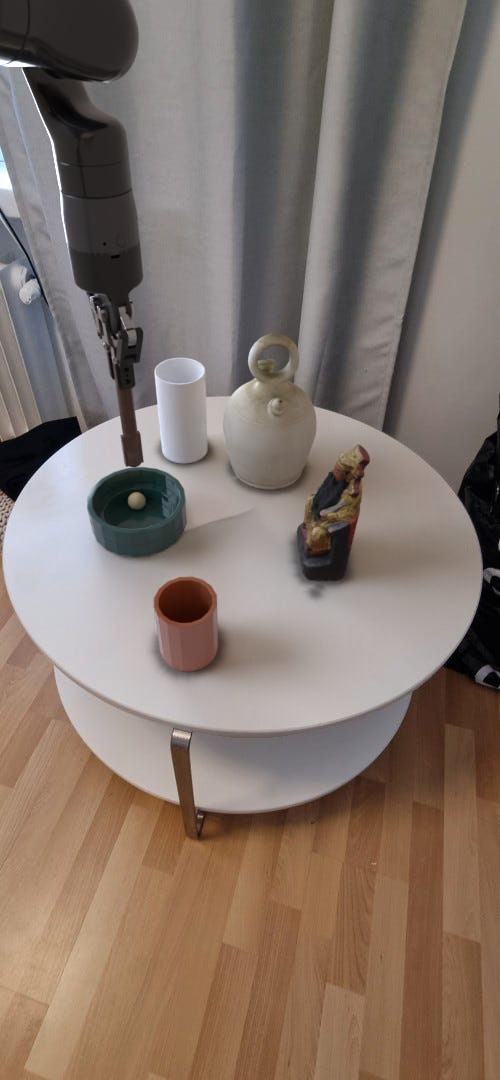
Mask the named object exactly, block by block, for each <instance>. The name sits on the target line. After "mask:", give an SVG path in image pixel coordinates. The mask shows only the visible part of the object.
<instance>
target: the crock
mask: <svg viewBox="0 0 500 1080" xmlns="http://www.w3.org/2000/svg"><path fill="white" fill-rule="evenodd" d="M153 613H154V619H155V626H156V630H157V631H156V633H157V640H158V647H159V651H160V654H161V658H162V659H163V661H164V662H165V663H166V664H167V665H168V666H169V667H171V668H172V669H174V670H177V671H180V672H194V671H198V670H202V669H203V668H206V667H207V666H208V665H209V664H211V662H212V661H213V660H214V659H215V657H216V656H217V652H218V650H219V649H218V648H219V633H218V632H219V626H218V625H219V623H218V621H219V620H218V619H219V618H218V617H219V616H218V595H217V593H216V591H215V589H214V587H213V585H212V584H210V583H208V582H207V581H205V580H204V579H202V578H198V577H195V576H178V577H175V578H172V579H170V580H168V581H166V582H165V583H163V585H161V586H160V587H159V588H158V589H157V592H156V593H155V595H154V597H153Z"/></svg>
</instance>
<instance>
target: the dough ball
mask: <svg viewBox="0 0 500 1080" xmlns="http://www.w3.org/2000/svg"><path fill="white" fill-rule="evenodd" d="M145 503H146V500H145V497H144V495H143V494H141V493H138V492H135V493H132V494H131V495H130V496H129V498H128V504H129V506H130V507H131V508H132V509H134V510H139V509H142V508H143V507H144V505H145Z"/></svg>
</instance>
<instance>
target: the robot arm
mask: <svg viewBox="0 0 500 1080" xmlns="http://www.w3.org/2000/svg"><path fill="white" fill-rule="evenodd" d="M139 41H140V33H139V25H138V20H137V15H136V13H135V10H134V8H133V5H132V3H131V1H130V0H0V66H2V67H19V68H21V71H22V73H23V75H24V78H25V80H26V83H27V86H28V87H29V90H30V93H31V95H32V98H33V100H34V103H35V105H36V108H37V111H38V113H39V115H40V118H41V120H42V123H43V125H44V127H45V129H46V132H47V134H48V136H49V139H50V143H51V147H52V154H53V159H54V160H53V161H54V164H55V165H54V166H55V171H56V177H57V183H58V187H59V194H60V212H61V219H62V224H63V230H64V236H65V242H66V247H67V252H68V258H69V262H70V270H71V274H72V279H73V282H74V284H75V285H76V287H77V288H79V289H80V290H82V291H84V292H85V294H86V296H87V299H88V302H89V306H90V309H91V313H92V317H93V321H94V324H95V329H96V331H97V333H96V334H97V337H98V338H99V340H101V341H102V348H103V349H104V351H105V353H106V357H107V364H108V371H109V376H110V378H111V379H112V380H113V381H115V377H116V384H117V387H118V388H119V389H120V390H126V389H130V388H132V389H133V388H135V387H136V375H135V367H134V364H140V363H141V355H142V347H143V342H144V330H143V328H142V327H141V326H137V327H136V325H135V317H136V310H135V304H134V300H132V299H130V295H129V294H130V293H132V291H133V290H134V289H136V288H138V287H139V286H140V284H141V283H142V282H143V280H144V270H143V260H142V250H141V249H142V248H141V240H140V228H139V227H140V226H139V219H138V211H137V205H136V200H135V197H134V191H133V190H134V189H133V183H132V171H131V163H130V162H131V161H130V152H129V144H128V136H127V132H126V128H125V126H124V124H123V123H122V121H121V120H120V119H119V118H117V117H116V116H115V115H113V114H111V113H110V112H108V111H106V110H103V109H102V108H100V107H99V106H97V105H96V104H95V103H94V102H93V100H92V99H91V97H90V96H89V93H88V91H87V88H86V85H85V83H93V84H98V85H99V84H100V85H109V84H113V83H115V82H118V81H120V80H121V79H123V78H124V77H125V76H126V75H127V74H128V72H129V71H130V70H131V69H132V66H133V65H134V63H135V61H136V57H137V55H138V50H139ZM84 82H85V83H84ZM110 347H111V349H110ZM111 353H112V356H111ZM112 361H113V363H114V370H115V377H114V370H113V363H112ZM116 384H115V385H116Z"/></svg>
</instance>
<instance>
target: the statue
mask: <svg viewBox="0 0 500 1080" xmlns="http://www.w3.org/2000/svg"><path fill="white" fill-rule="evenodd" d="M370 463H371V457H370V455H369V453H368V451H367V450H366V448H365V447H363V446H362V445H361V444H356V445H355V446H354V447H353V448H351V449H349V452H344V451H343V452H340V454H339V456H338V459H337V460H336V462H335V465H334V467H333V469H332V470H331V471H328V474H327V476H326V477H325V478H324V480H323V482H322V483H321V484H320V486H319V487H318V488H317V489H316V491H314V492H313V493H311V494H310V496H308V497H307V498H306V500H305V507H304V517H303V521H302V522H301V524H299V525H298V526H297V529H296V542H297V543H296V544H297V550H298V552H297V553H298V555H299V562H300V566H301V571H302V574H303V576H304V577H305V578H306V580H309V581H325V582H327V581H328V582H329V581H331V582H335V581H336V582H337V581H340V580H342V579H343V578H344V577H345V575H346V572H347V569H348V563H349V558H350V554H351V550H352V546H353V543H354V538H355V534H356V530H357V525H358V521H359V518H360V513H361V504H362V498H363V482H362V479H363V478H364V477H365V469H366V468H367V467H368V466H369V464H370ZM314 593H315V592H314Z"/></svg>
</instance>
